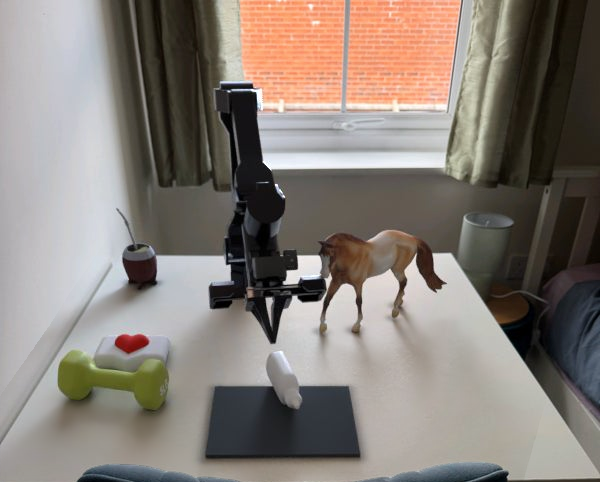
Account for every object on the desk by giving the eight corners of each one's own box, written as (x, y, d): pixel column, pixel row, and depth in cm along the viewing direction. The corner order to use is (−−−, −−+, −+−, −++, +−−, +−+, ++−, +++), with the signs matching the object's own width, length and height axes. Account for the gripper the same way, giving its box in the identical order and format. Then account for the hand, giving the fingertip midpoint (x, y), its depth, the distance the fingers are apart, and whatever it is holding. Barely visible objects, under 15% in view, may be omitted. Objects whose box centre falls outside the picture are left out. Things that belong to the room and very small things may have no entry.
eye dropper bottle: (294, 354, 98) (318, 395, 89) (279, 382, 100) (300, 424, 91) (272, 347, 96) (294, 388, 87) (256, 375, 98) (276, 418, 89)
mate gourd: (155, 290, 127) (146, 221, 118) (118, 289, 127) (106, 220, 118) (162, 275, 133) (154, 208, 124) (127, 274, 133) (116, 207, 124)
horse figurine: (319, 350, 109) (324, 241, 97) (296, 332, 114) (298, 226, 102) (443, 309, 123) (461, 209, 111) (417, 295, 128) (432, 198, 116)
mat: (215, 389, 98) (214, 386, 98) (348, 388, 99) (348, 385, 99) (205, 458, 84) (205, 455, 84) (360, 457, 85) (360, 454, 85)
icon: (85, 355, 98) (99, 325, 106) (90, 377, 100) (104, 346, 108) (161, 355, 98) (169, 325, 106) (164, 377, 101) (172, 346, 109)
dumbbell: (175, 390, 98) (170, 353, 93) (157, 420, 91) (151, 381, 87) (82, 378, 100) (73, 341, 96) (57, 406, 94) (47, 367, 89)
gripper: (204, 233, 88) (215, 335, 86) (327, 226, 92) (340, 324, 89) (204, 261, 99) (214, 353, 97) (314, 255, 102) (326, 343, 100)
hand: (273, 343), depth 96 cm, fingers closed
